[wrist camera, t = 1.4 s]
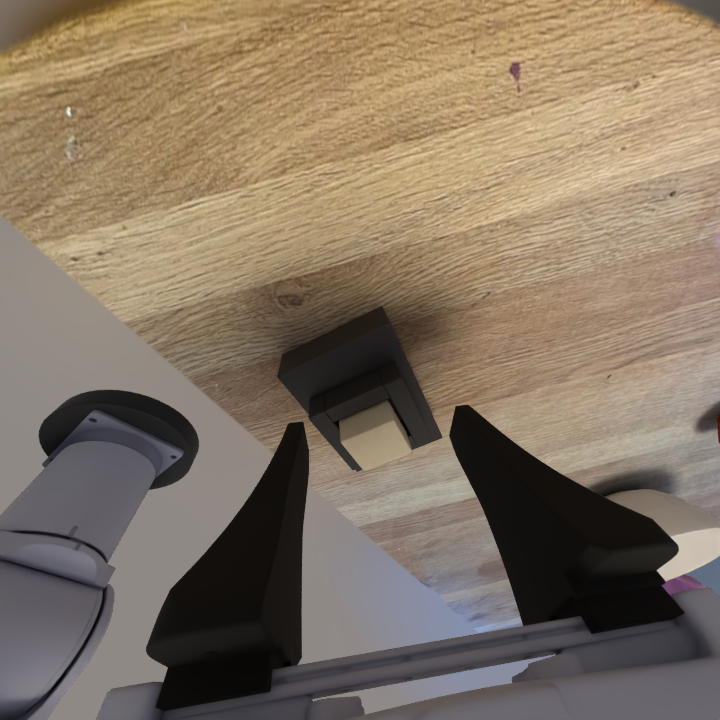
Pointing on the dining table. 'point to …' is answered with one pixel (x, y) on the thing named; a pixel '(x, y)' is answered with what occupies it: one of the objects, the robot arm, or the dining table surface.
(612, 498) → the bowl
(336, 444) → the switch plate
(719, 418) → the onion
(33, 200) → the dining table surface
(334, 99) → the dining table surface
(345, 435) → the switch
